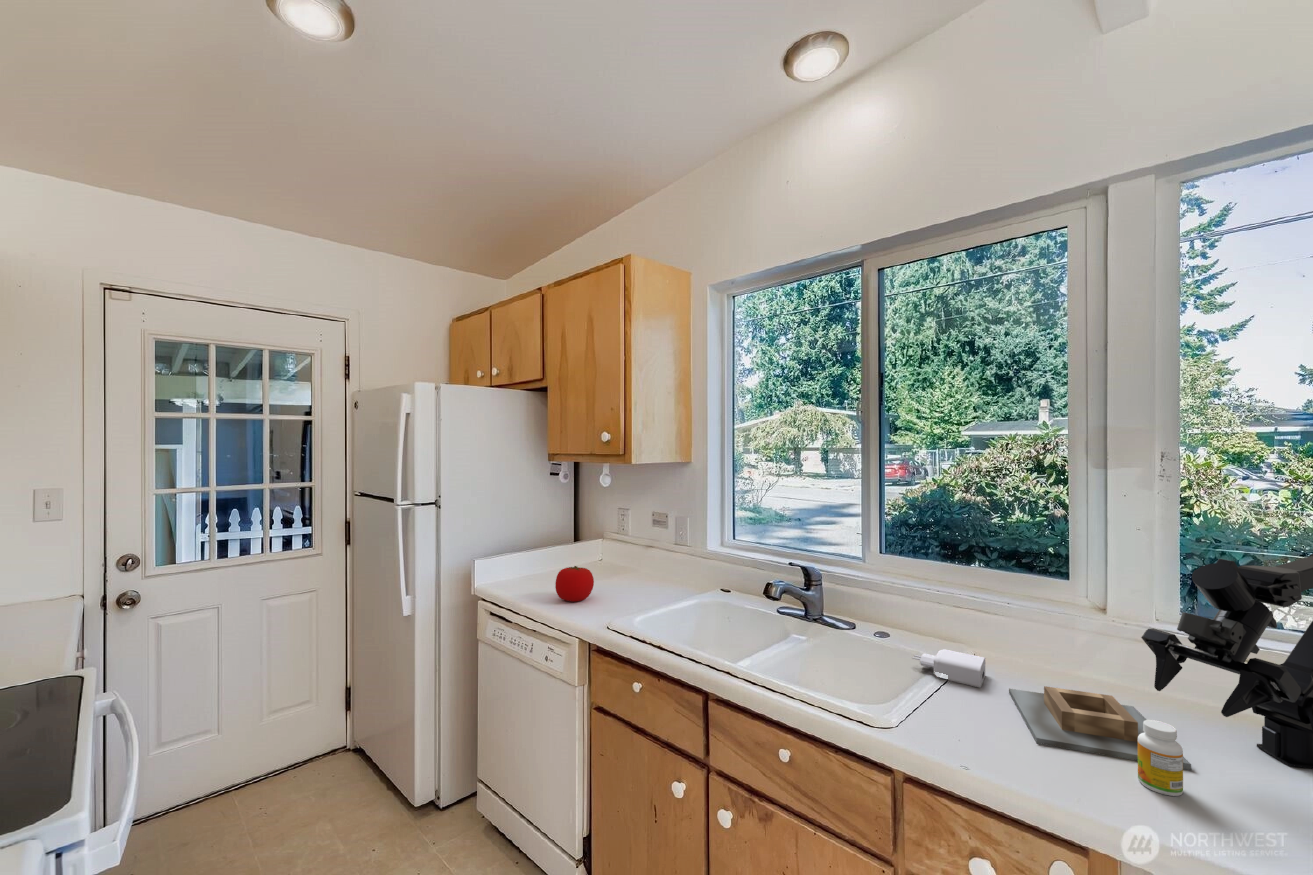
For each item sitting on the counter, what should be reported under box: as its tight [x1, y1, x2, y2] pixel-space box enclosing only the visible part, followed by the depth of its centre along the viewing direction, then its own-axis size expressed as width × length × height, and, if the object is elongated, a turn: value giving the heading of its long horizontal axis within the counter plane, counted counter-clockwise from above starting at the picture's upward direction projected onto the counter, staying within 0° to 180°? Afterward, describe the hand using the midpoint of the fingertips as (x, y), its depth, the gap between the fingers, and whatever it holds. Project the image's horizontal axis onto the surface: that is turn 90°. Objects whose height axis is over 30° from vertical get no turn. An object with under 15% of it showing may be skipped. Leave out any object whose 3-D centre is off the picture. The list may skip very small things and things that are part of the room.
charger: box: [911, 648, 986, 689], centre depth 131 cm, size 5×9×15 cm
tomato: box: [554, 565, 595, 603], centre depth 192 cm, size 13×14×12 cm
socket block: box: [1008, 685, 1192, 771], centre depth 107 cm, size 22×22×4 cm
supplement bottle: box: [1137, 719, 1184, 797], centre depth 88 cm, size 5×5×10 cm
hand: (1188, 701), depth 90 cm, fingers open, 9 cm apart
